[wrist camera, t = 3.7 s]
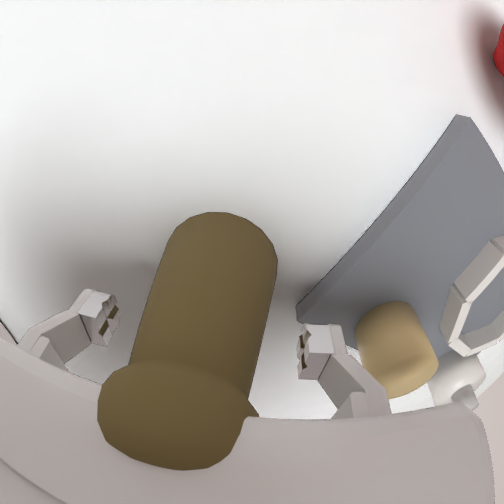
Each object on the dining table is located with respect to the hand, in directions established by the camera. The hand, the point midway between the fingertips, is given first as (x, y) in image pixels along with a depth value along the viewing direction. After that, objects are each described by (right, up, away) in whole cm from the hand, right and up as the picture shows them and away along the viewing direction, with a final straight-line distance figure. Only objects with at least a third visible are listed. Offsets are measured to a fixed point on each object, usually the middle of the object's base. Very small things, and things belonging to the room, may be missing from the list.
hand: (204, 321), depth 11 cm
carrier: (+16, 0, +3) cm, 16 cm away
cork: (0, +2, +4) cm, 4 cm away
